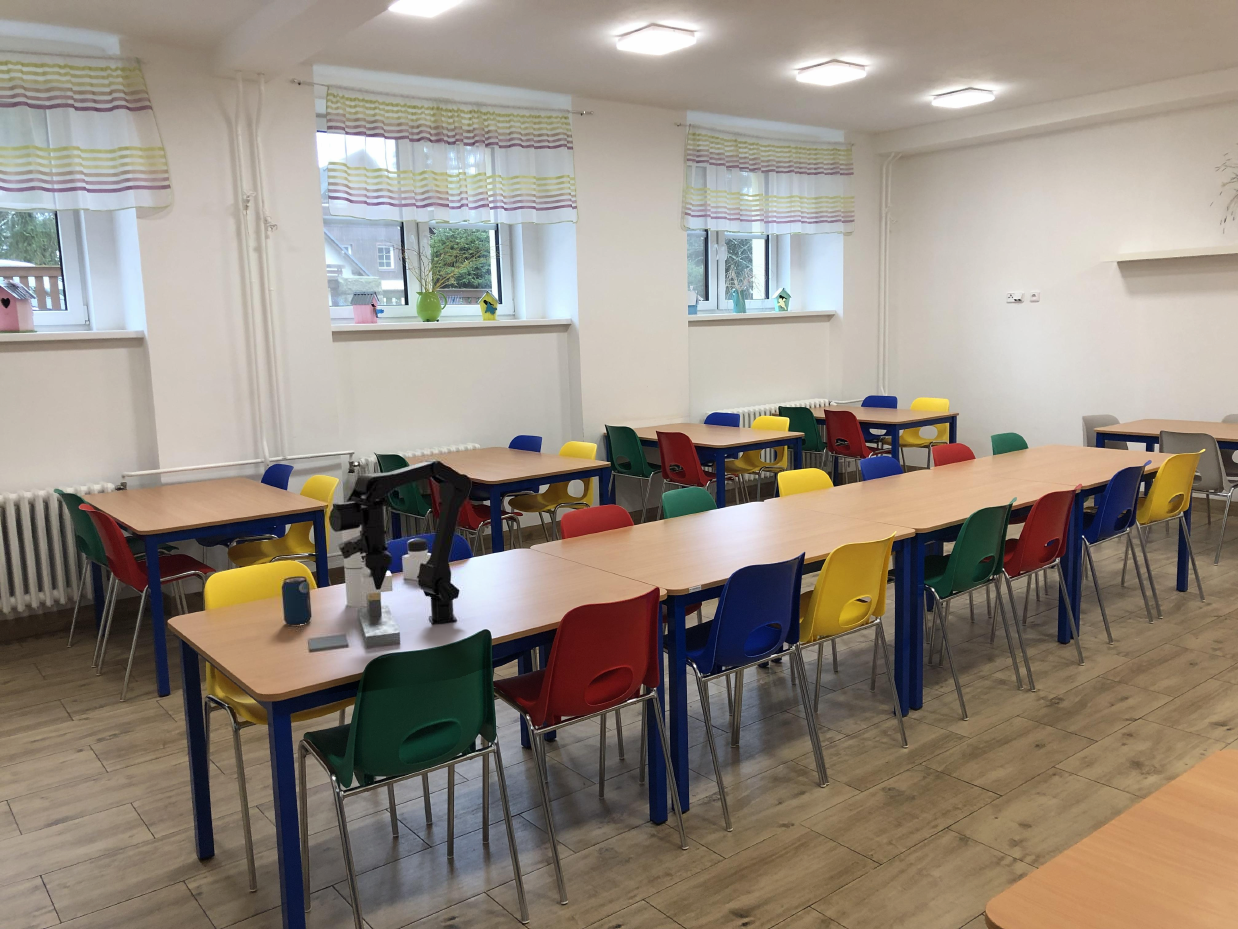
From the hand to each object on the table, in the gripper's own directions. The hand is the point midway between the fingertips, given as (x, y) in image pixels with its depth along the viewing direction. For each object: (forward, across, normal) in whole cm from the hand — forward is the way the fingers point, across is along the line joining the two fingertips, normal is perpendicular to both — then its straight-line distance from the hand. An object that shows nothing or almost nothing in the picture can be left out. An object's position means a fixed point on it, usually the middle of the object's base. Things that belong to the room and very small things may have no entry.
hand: (377, 587), depth 238 cm
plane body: (+13, -5, 0) cm, 14 cm away
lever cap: (+1, 0, 0) cm, 1 cm away
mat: (+13, 0, -12) cm, 18 cm away
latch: (+6, -14, 0) cm, 15 cm away
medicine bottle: (+13, -58, +18) cm, 62 cm away
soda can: (+13, -22, -19) cm, 32 cm away
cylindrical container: (+13, -35, -2) cm, 37 cm away
